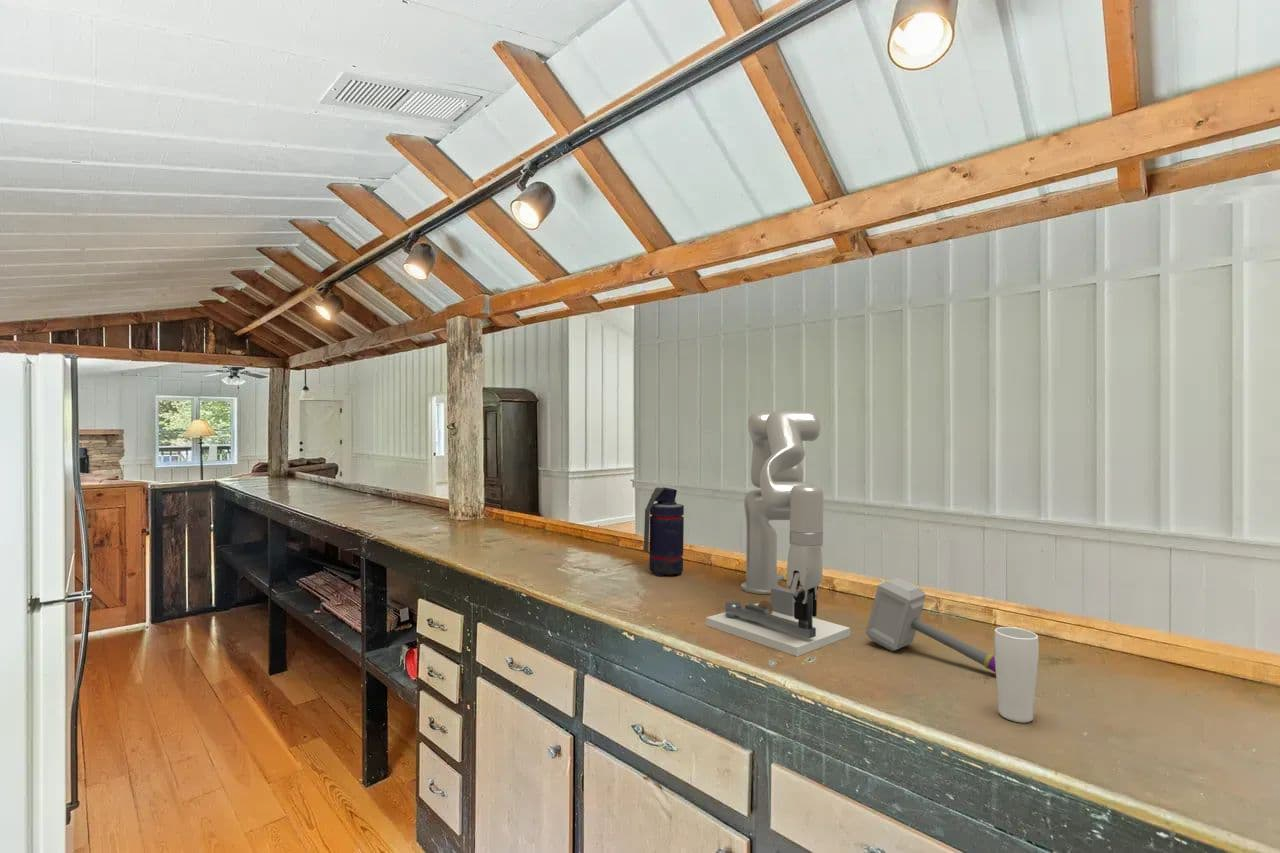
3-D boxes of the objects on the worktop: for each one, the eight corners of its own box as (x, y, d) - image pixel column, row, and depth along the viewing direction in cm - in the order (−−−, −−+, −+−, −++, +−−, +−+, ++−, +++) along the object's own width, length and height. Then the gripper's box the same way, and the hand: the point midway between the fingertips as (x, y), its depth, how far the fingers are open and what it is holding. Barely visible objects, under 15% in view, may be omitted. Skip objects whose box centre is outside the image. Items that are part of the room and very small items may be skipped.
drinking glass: (985, 708, 113) (985, 626, 113) (1020, 707, 113) (1020, 626, 113) (1010, 726, 106) (1011, 639, 106) (1047, 725, 106) (1048, 638, 106)
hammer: (1032, 637, 126) (895, 574, 148) (1019, 646, 121) (879, 579, 143) (1011, 702, 129) (880, 631, 151) (997, 713, 124) (863, 638, 146)
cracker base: (705, 625, 159) (706, 594, 159) (760, 609, 173) (760, 581, 173) (796, 656, 138) (797, 620, 138) (850, 636, 152) (850, 603, 152)
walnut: (753, 616, 159) (754, 600, 159) (763, 613, 162) (763, 597, 162) (766, 619, 156) (766, 604, 156) (776, 616, 159) (776, 601, 159)
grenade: (675, 568, 224) (676, 486, 224) (688, 576, 212) (689, 489, 212) (639, 570, 219) (640, 486, 220) (650, 578, 208) (651, 490, 208)
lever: (722, 614, 160) (722, 574, 160) (735, 610, 163) (735, 571, 164) (807, 641, 140) (808, 595, 140) (820, 636, 144) (821, 591, 144)
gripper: (806, 532, 152) (805, 606, 152) (774, 541, 139) (773, 622, 139) (836, 536, 147) (835, 612, 147) (805, 545, 134) (805, 629, 134)
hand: (805, 616), depth 143 cm, fingers open, 3 cm apart
